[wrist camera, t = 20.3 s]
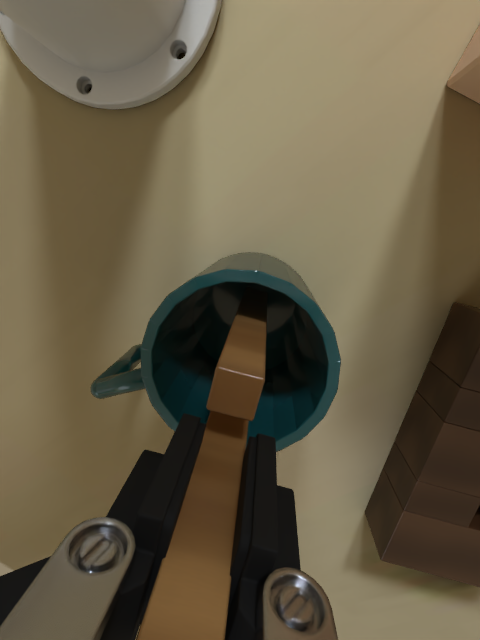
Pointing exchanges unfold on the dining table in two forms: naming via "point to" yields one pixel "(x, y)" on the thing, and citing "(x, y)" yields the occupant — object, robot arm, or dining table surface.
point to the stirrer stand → (436, 464)
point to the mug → (209, 339)
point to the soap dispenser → (468, 71)
